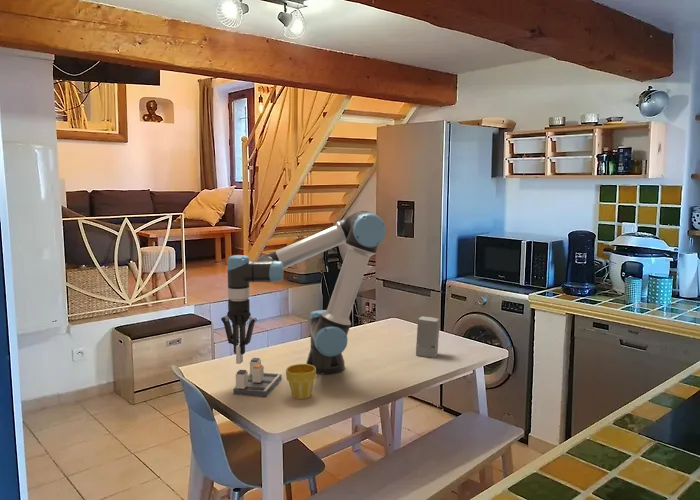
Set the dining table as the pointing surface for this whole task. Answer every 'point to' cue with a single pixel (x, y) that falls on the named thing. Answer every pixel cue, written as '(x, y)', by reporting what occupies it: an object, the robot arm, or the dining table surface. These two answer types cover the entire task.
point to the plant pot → (301, 380)
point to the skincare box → (427, 336)
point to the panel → (259, 386)
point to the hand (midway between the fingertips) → (239, 362)
